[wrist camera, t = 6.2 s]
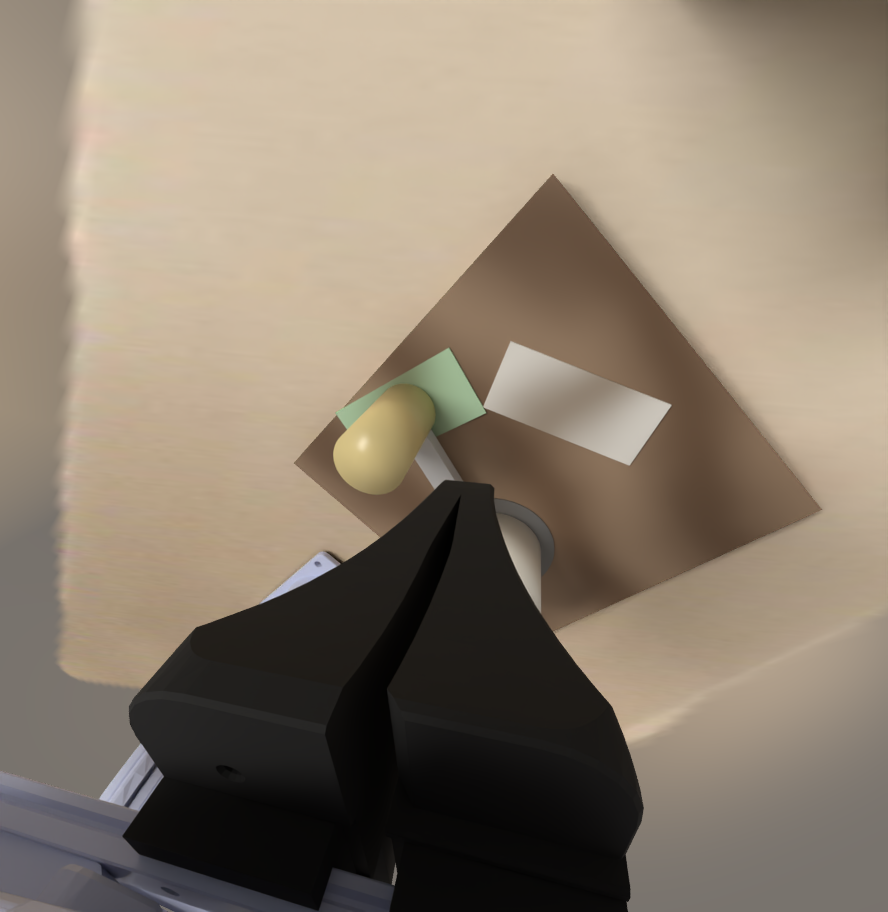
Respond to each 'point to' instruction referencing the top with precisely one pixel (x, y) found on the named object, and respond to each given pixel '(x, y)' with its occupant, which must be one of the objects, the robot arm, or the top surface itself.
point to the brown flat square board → (576, 418)
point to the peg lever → (410, 437)
